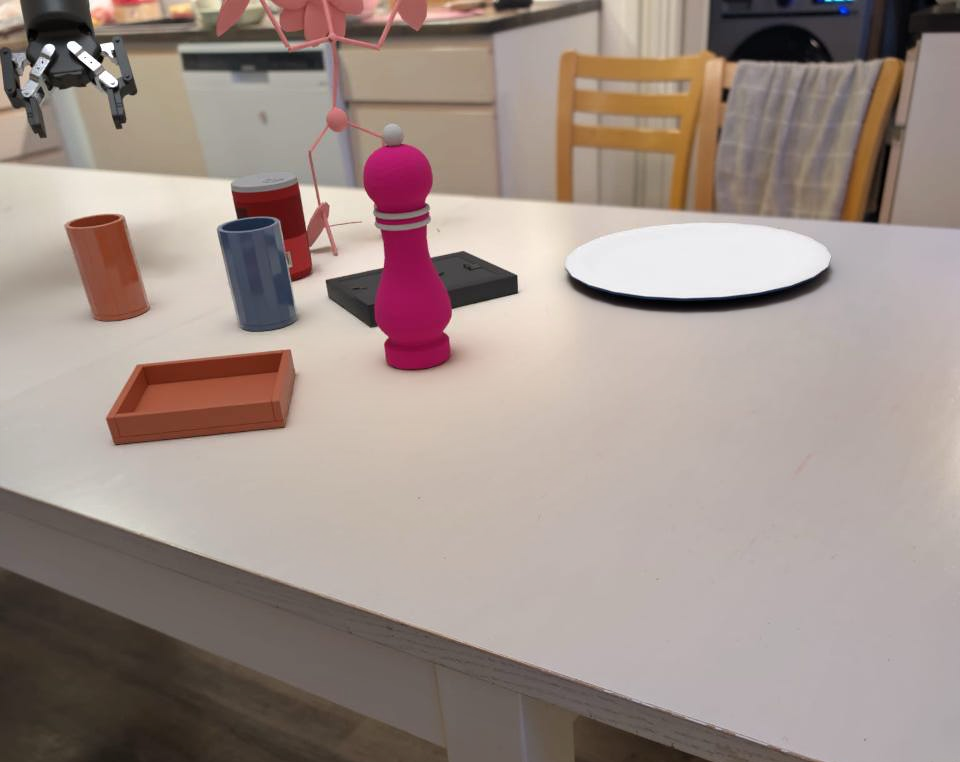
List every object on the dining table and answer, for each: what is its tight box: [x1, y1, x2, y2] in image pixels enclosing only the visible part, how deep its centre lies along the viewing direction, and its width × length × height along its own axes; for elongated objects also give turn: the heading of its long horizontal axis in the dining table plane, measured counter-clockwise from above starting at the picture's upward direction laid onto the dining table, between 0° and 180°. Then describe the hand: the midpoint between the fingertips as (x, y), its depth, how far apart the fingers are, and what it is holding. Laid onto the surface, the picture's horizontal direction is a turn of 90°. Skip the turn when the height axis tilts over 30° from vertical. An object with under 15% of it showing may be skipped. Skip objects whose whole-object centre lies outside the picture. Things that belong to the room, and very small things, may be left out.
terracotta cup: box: [63, 213, 150, 322], centre depth 106 cm, size 6×6×10 cm
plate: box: [564, 222, 833, 302], centre depth 105 cm, size 29×29×2 cm
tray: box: [105, 349, 296, 445], centre depth 83 cm, size 14×12×2 cm
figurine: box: [215, 0, 440, 256], centre depth 119 cm, size 15×26×35 cm, turn 119°
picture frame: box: [325, 250, 519, 328], centre depth 105 cm, size 13×2×18 cm
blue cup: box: [216, 217, 298, 332], centre depth 99 cm, size 6×6×10 cm
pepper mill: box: [362, 123, 453, 370], centre depth 84 cm, size 7×7×20 cm
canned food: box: [230, 171, 313, 282], centre depth 113 cm, size 8×8×11 cm
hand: (80, 128), depth 108 cm, fingers open, 8 cm apart
